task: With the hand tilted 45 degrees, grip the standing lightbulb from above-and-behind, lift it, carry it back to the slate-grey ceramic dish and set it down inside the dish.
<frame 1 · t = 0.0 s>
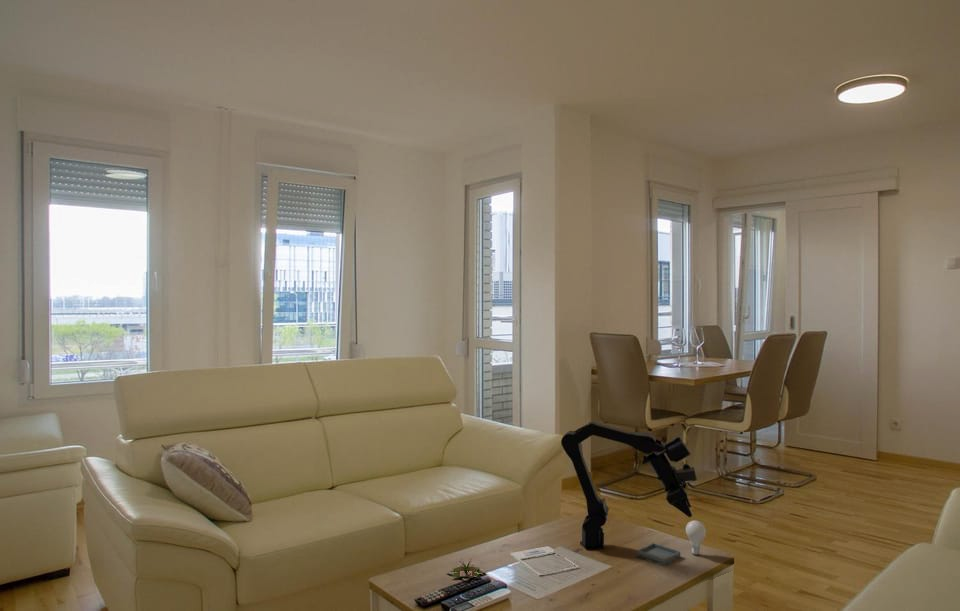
hand: (690, 512, 199), 15 cm above the table, tool tilted 35°, fingers open, 9 cm apart
dish: (658, 556, 199), on the table
flower arrangement: (466, 576, 184), on the table
photo frame: (543, 563, 195), on the table
lightbulb: (695, 555, 202), on the table
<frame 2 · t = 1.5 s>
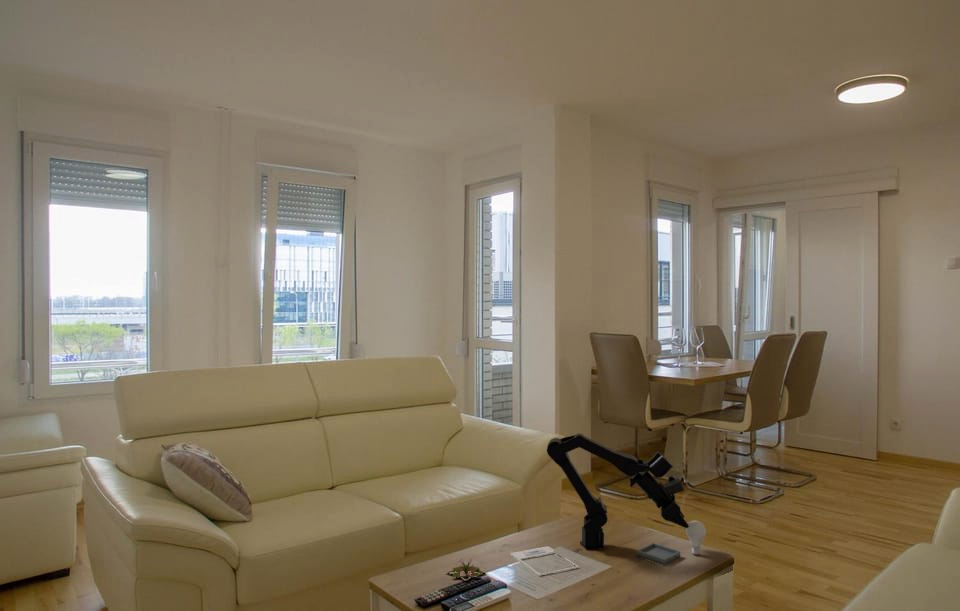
hand: (685, 522, 202), 10 cm above the table, tool tilted 45°, fingers open, 9 cm apart
nothing on the table moved.
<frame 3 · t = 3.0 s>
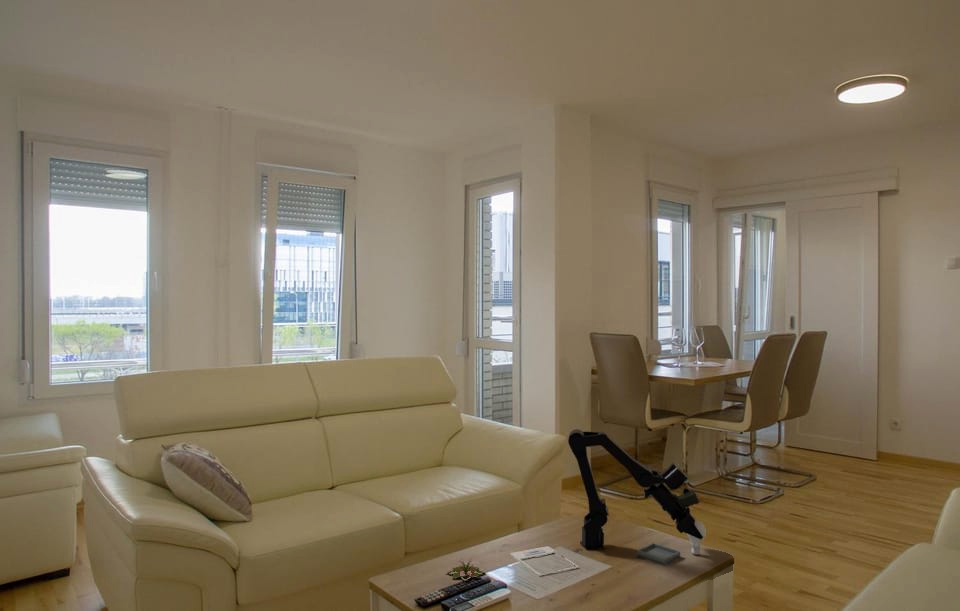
hand: (700, 534, 201), 7 cm above the table, tool tilted 45°, fingers closed on lightbulb, 6 cm apart
lightbulb: (695, 555, 202), on the table, touching gripper
everything else where it was.
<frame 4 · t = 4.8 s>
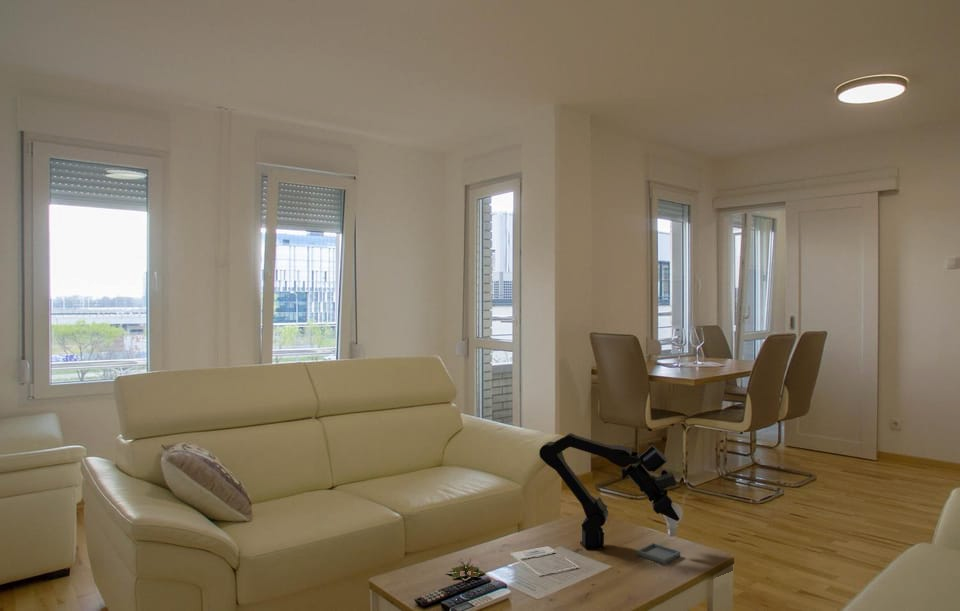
hand: (676, 516, 201), 13 cm above the table, tool tilted 45°, fingers closed on lightbulb, 6 cm apart
lightbulb: (671, 536, 201), point 6 cm above the table, touching gripper
everything else where it was.
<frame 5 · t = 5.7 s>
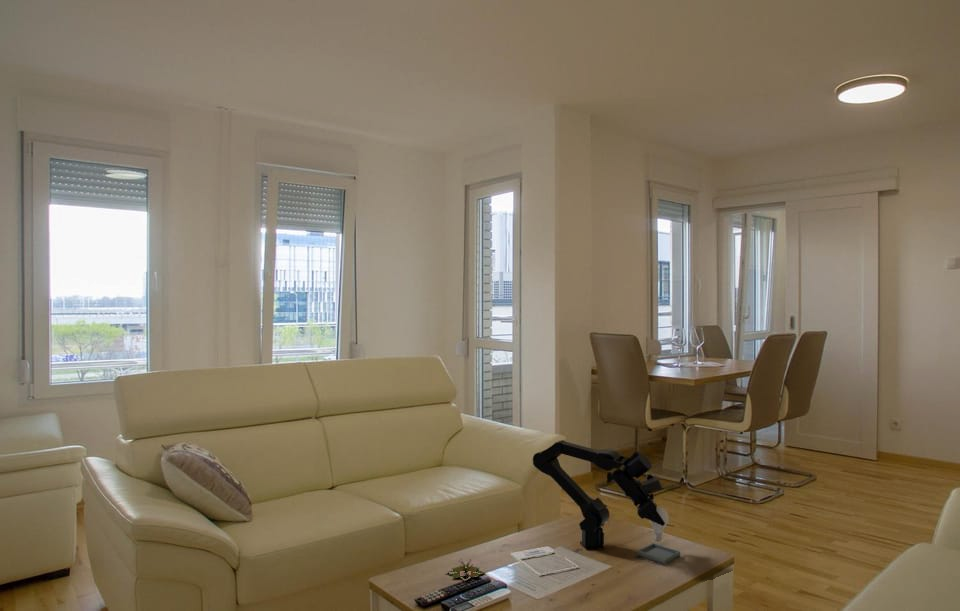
hand: (662, 521, 199), 12 cm above the table, tool tilted 45°, fingers closed on lightbulb, 6 cm apart
lightbulb: (657, 541, 200), point 5 cm above the table, touching gripper
everything else where it was.
when the fingers open (9 cm above the table, at t = 6.7 s): lightbulb drops 1 cm, resting on dish.
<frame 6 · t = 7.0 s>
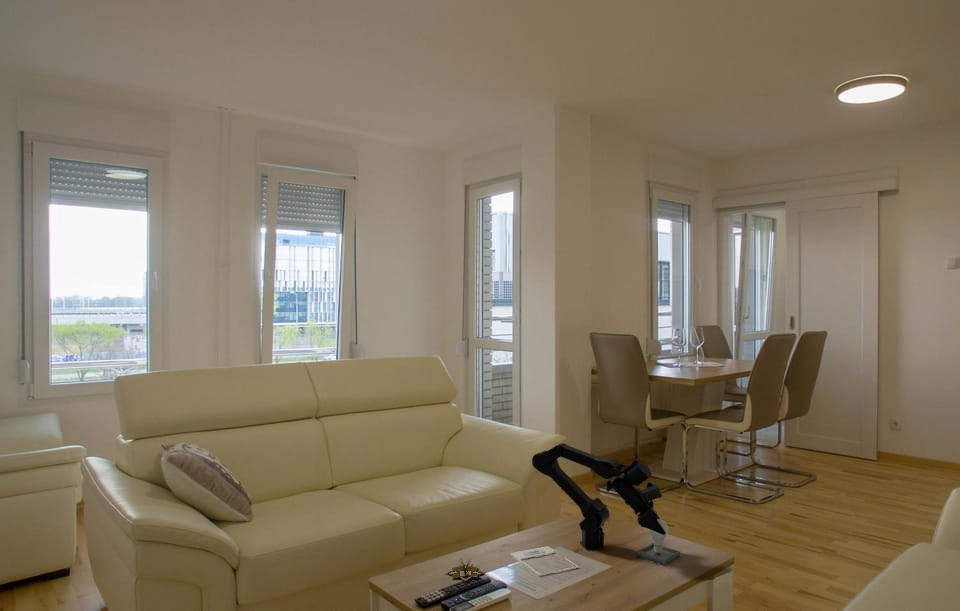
hand: (663, 529, 199), 9 cm above the table, tool tilted 45°, fingers open, 9 cm apart
lightbulb: (657, 554, 200), point 1 cm above the table, touching dish
everything else where it was.
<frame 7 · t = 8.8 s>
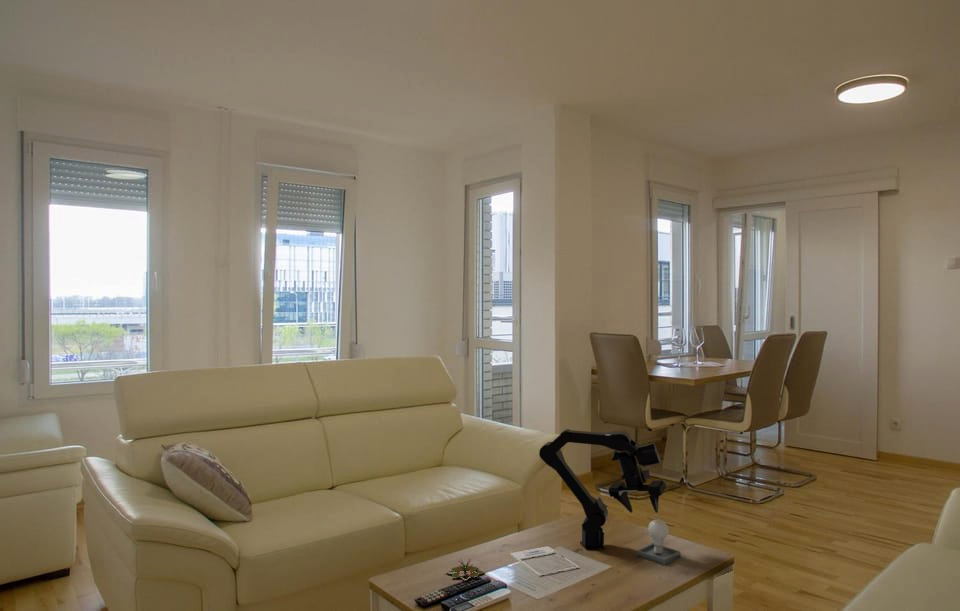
hand: (644, 512, 205), 13 cm above the table, tool tilted 20°, fingers open, 9 cm apart
nothing on the table moved.
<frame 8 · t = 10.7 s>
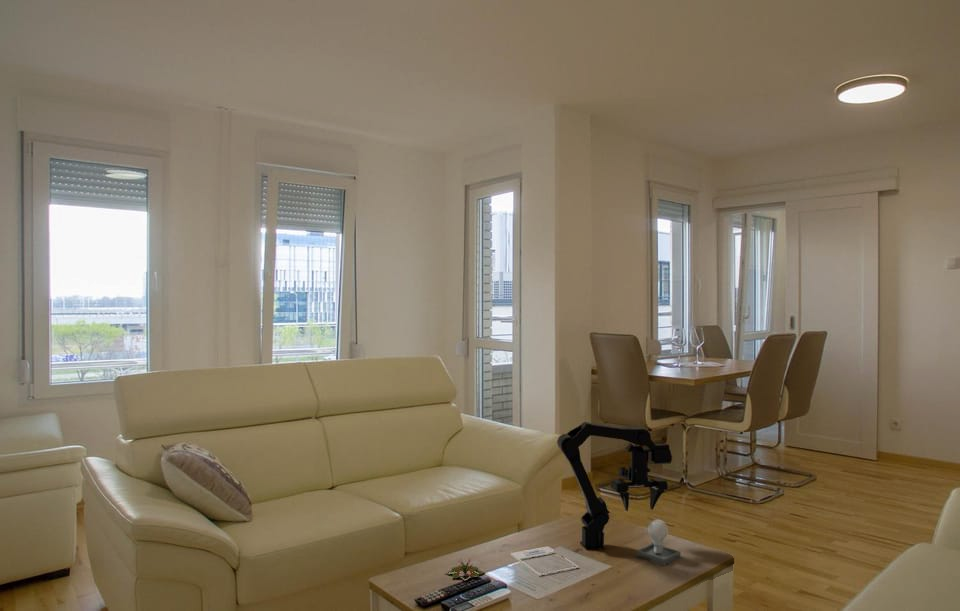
hand: (639, 510, 209), 12 cm above the table, tool pointing down, fingers open, 9 cm apart
nothing on the table moved.
at the end: lightbulb 0.4 cm from the dish (horizontally); lightbulb touching dish; the gripper is holding nothing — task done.
